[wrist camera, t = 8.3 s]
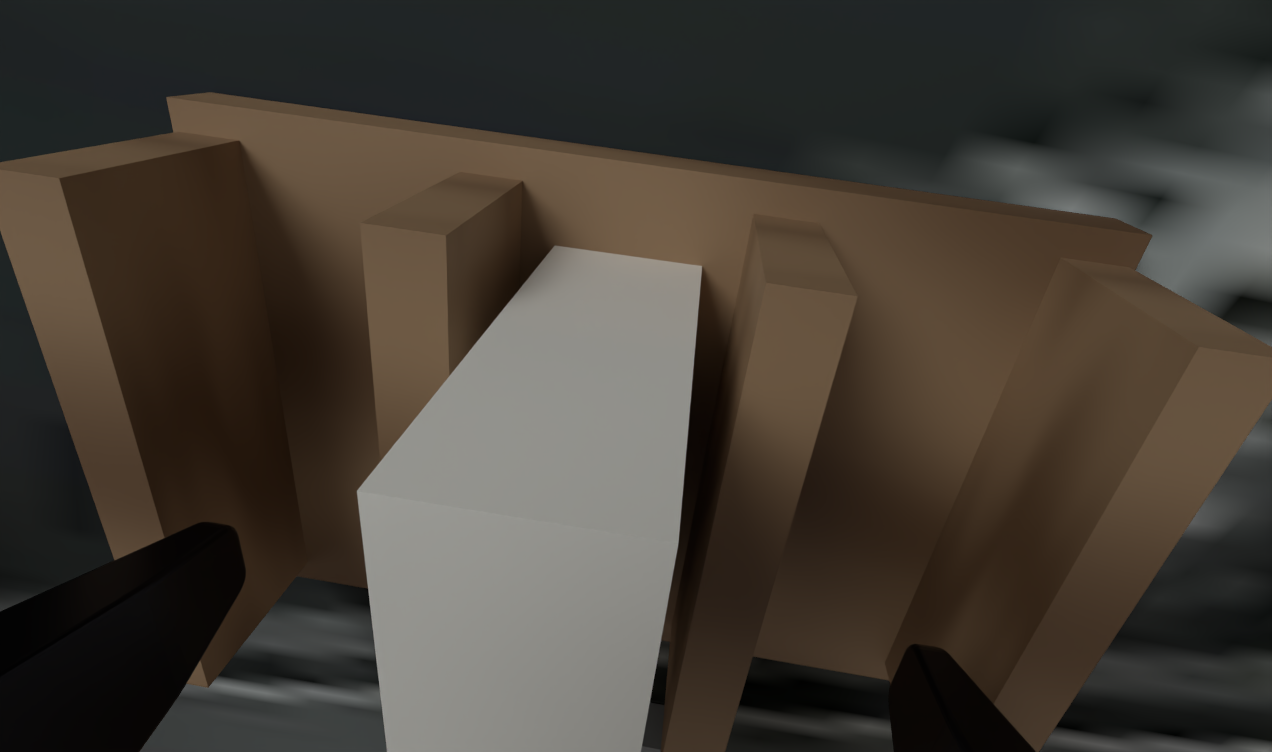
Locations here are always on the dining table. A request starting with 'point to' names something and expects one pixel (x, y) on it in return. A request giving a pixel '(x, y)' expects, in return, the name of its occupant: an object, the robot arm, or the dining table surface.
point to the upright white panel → (538, 518)
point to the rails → (653, 729)
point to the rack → (721, 386)
